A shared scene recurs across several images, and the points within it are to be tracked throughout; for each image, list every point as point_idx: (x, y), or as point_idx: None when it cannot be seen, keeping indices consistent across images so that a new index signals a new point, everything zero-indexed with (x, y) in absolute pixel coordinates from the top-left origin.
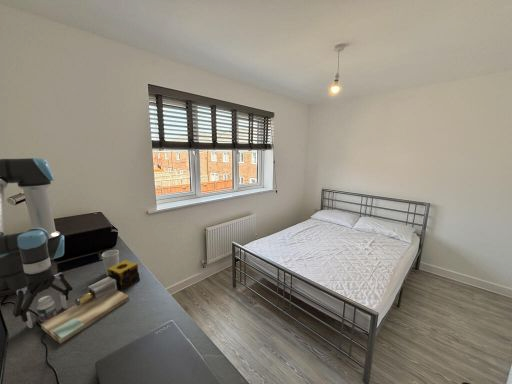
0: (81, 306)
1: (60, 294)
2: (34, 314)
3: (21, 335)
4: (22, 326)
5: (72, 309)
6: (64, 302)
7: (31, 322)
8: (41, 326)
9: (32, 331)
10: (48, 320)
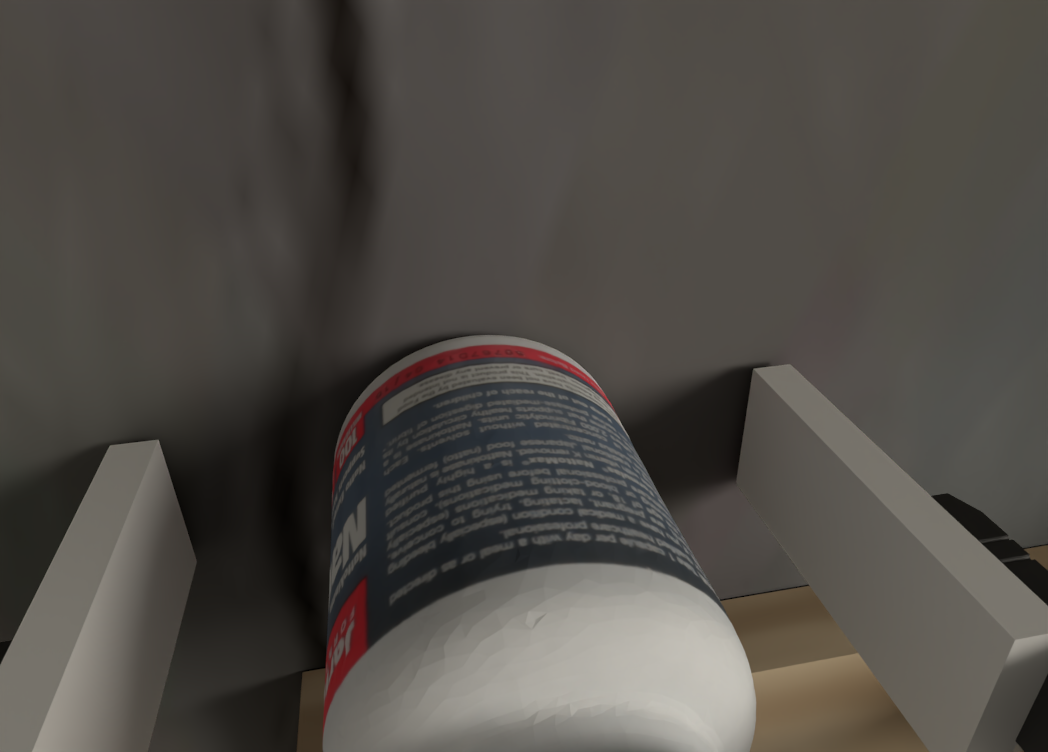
0: (854, 742)
1: (1021, 644)
2: (302, 37)
3: (11, 619)
4: (19, 346)
5: (756, 728)
6: (830, 604)
7: (166, 657)
8: (302, 735)
9: (179, 642)
10: None
